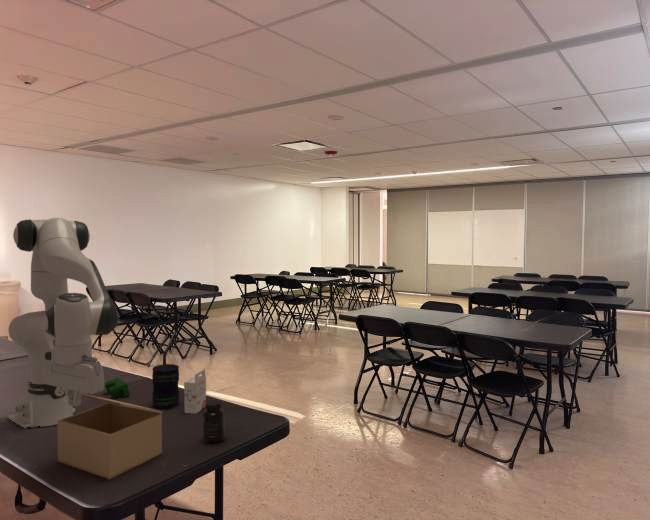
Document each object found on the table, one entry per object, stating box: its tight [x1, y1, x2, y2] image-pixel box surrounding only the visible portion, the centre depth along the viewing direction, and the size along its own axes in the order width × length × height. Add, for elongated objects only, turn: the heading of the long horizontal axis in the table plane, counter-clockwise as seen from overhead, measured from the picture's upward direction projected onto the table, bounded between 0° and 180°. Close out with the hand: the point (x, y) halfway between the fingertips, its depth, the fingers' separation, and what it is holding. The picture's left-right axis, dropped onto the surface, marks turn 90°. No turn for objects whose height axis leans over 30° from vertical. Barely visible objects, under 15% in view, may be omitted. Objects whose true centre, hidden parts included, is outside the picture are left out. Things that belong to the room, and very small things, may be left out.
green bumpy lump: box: [104, 377, 131, 399], centre depth 193 cm, size 12×6×9 cm, turn 36°
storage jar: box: [151, 363, 180, 411], centre depth 182 cm, size 10×10×15 cm
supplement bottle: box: [202, 400, 225, 444], centre depth 151 cm, size 7×7×12 cm
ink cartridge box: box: [183, 369, 207, 415], centre depth 178 cm, size 9×5×15 cm, turn 168°
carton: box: [56, 403, 163, 480], centre depth 138 cm, size 22×18×12 cm
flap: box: [63, 390, 163, 414], centre depth 138 cm, size 22×18×1 cm
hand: (74, 405), depth 127 cm, fingers closed
